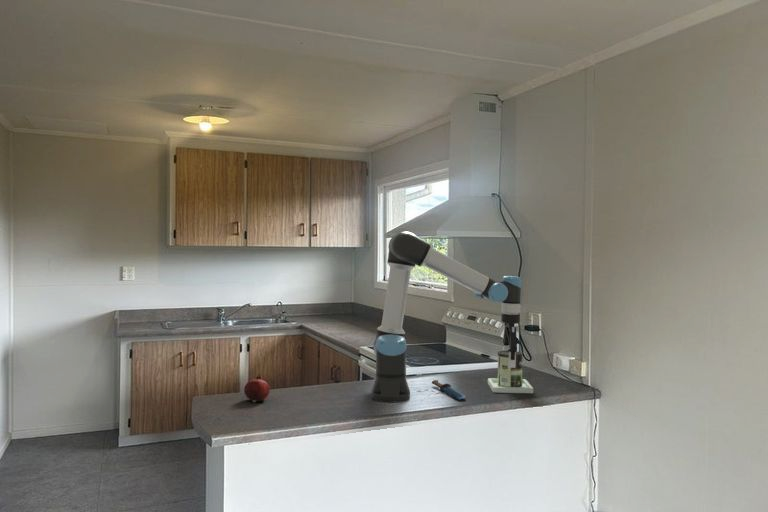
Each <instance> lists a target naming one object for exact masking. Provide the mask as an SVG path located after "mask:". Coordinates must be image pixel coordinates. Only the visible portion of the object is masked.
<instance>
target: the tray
mask: <svg viewBox="0 0 768 512" xmlns="http://www.w3.org/2000/svg"><path fill="white" fill-rule="evenodd" d="M487 384H488V386H489V388H490V389H491V391H492V393H497V394H498V393H501V394H502V393H505V394H507V393H509V394H534V387H533V386H532V385H531V383H530V382H529V381H528V380H527V379H525V378H522V387H498V386H497V385H498V377H497V378H495V377H494V378H493V377H492V378H491V377H489V378H487Z"/></svg>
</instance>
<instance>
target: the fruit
mask: <svg viewBox="0 0 768 512" xmlns="http://www.w3.org/2000/svg"><path fill="white" fill-rule="evenodd" d="M269 385H270V384H268V383H267V381H265V380H263V378H262V375H260V374H259V373H258V375H257V376H256V377H255V378H253V379H250V380H249V381H247V382H246V384H245V385H244V387H243V389H244V391H243V393H244V395H245V397H246V398H248V400H250V401H252V402H253V403H254V402H255V403H258V402H262V401H264V400H265V399H266V398H267V397H268V396H269V395H270V386H269Z"/></svg>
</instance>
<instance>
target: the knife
mask: <svg viewBox="0 0 768 512" xmlns="http://www.w3.org/2000/svg"><path fill="white" fill-rule="evenodd" d="M431 384H432V385H435V386H436V387H438V388H439V390H440V391H441V392H444V393H446V394H448V395H450V396H451V397H453V398H454V399H456V400H462V399H464V398H466V396H467V395H465V394H463V393H461V392H460V391H458V390H456V389H454V388H453V387H452V386H451V384H450V383H444V384H443V383H441V382H440V381H439V380H438V379H434V380H432V381H431Z"/></svg>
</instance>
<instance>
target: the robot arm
mask: <svg viewBox="0 0 768 512" xmlns="http://www.w3.org/2000/svg"><path fill="white" fill-rule="evenodd" d="M387 254H388V255H387V265H388V266H389V273H388V280H387V285H386V293H385V300H384V305H383V306H384V307H383V313H382V320H381V325H380V326H378V327H377V329H376V335H375V340H374V342H373V345H372V346H373V347H372V348H373V349H372V350H373V352H374V355H375V378H374V381H373V385H372V387H371V390H370V392H371V393H370V397H371V399H372V398H373V399H372V400H375V401H377V400H378V401H377V402H382V401H383V402H384V403H400V401H401V402H406V401H408V400H409V399H410V398H411V390H410V387H409V383H408V381H407V375H406V374H407V373H406V372H407V339H405V334H406V332H405V330H404V328H403V324H404V318H405V310H406V305H407V298H408V292H409V285H410V278H411V272H412V270H413V269H415V268H416V266H418V267H419V268H421V267H425V268H427V269H429V270H431V271H433V272H435V273H437V274H439V275H441V276H443V277H445V278H447V279H448V280H451V281H453V282H455V283H457V284H459V285H460V286H463V287H464V288H466V289H468V290H471V291H472V292H473V296H474V298H475V299H486V300H490V301H492V302H493V303H501V322H502V323H503V324H504V329H503V336H502V343H503V346H502V347H503V348H502V349H503V350H502V351H508V352H509V363H508V367H509V368H515V366H516V351H518V342H517V327H516V326H515V325H516V324H518V325H519V323H520V321H521V314H520V313H521V308H522V305H521V297H522V296H521V294H522V293H521V292H522V278H521V277H519V276H517V275H516V276H515V275H514V276H513V275H504V276H503V277H502V279H501V280H494V279H493V278H490V277H488V276H487V275H485V274H482V273H480V272H479V271H477V270H475V269H474V268H471V267H469V266H468V265H465V264H463V263H462V262H459V261H457V260H456V259H454V258H451V257H450V256H448V255H446V254H444V253H442V252H441V251H438V250H436V249H434V248H433V246H432V245H431V244H430V243H429V242H427V241H425V240H423V239H422V238H420V237H419V236H418V235H416V234H414V233H413V232H410V231H400V232H397V233H396V234H394V235H393V236H392V237H391V238H390V240H389V242H388V253H387Z"/></svg>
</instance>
